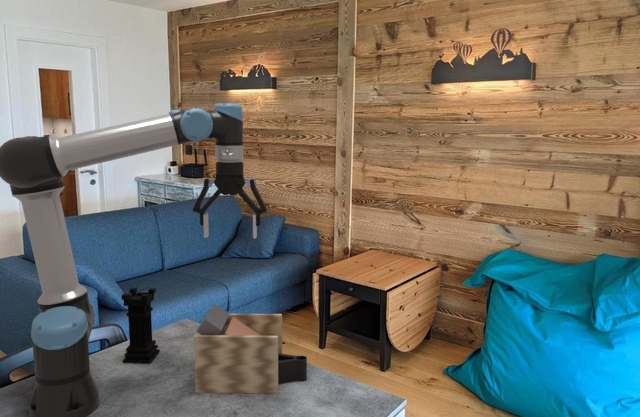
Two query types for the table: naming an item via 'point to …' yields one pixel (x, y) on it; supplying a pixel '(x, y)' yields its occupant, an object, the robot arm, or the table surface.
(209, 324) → the trapdoor
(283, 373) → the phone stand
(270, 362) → the frame
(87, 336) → the robot arm
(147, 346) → the chess piece
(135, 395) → the table surface
